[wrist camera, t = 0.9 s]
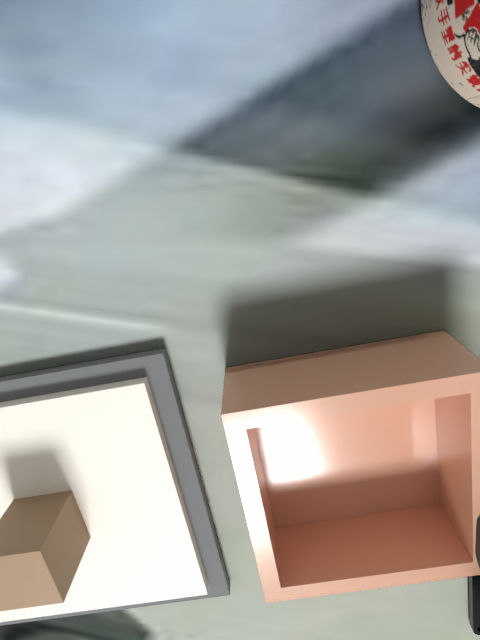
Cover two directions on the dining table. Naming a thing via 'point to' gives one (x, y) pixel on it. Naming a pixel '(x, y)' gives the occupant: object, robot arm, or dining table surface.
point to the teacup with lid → (455, 43)
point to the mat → (175, 434)
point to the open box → (358, 464)
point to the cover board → (90, 505)
